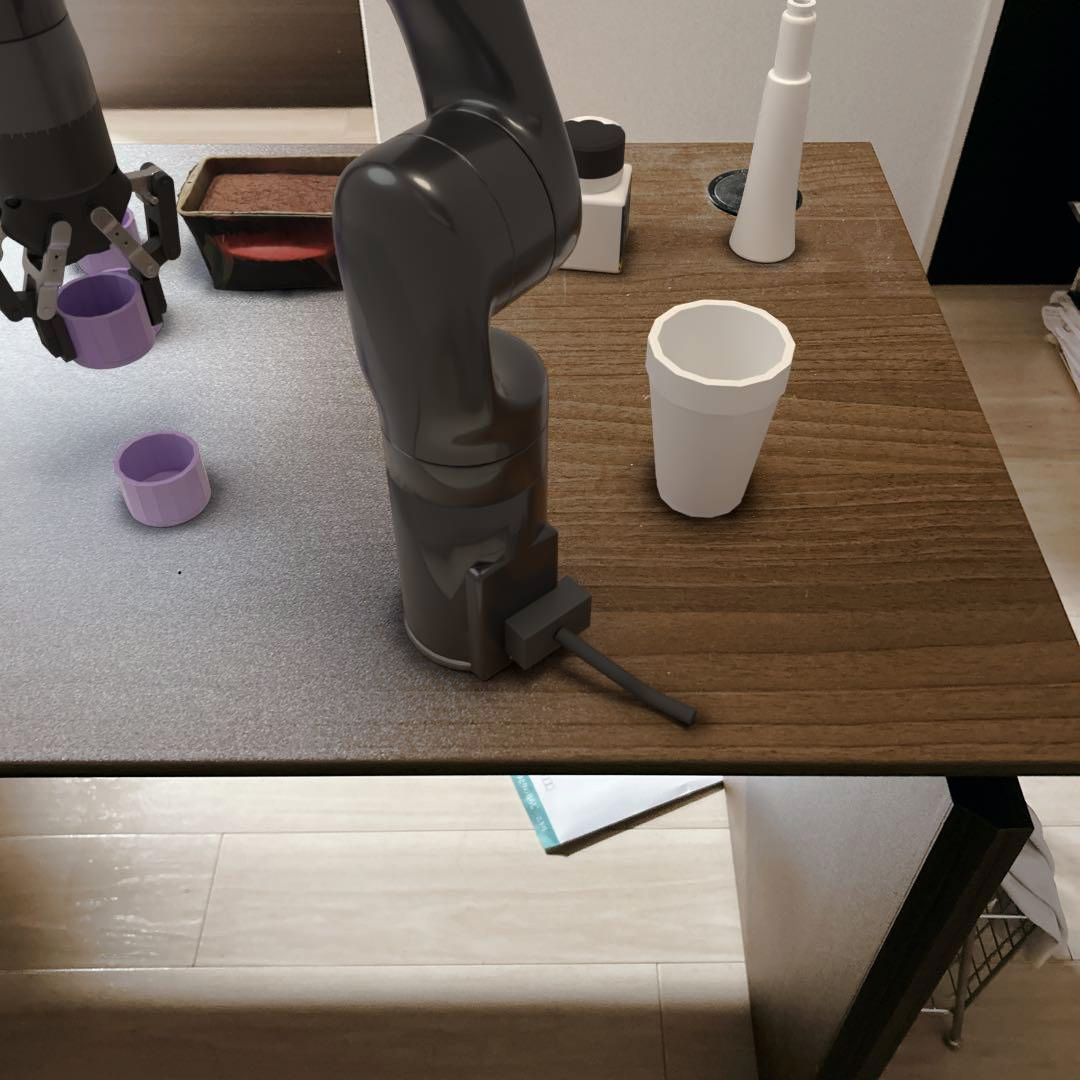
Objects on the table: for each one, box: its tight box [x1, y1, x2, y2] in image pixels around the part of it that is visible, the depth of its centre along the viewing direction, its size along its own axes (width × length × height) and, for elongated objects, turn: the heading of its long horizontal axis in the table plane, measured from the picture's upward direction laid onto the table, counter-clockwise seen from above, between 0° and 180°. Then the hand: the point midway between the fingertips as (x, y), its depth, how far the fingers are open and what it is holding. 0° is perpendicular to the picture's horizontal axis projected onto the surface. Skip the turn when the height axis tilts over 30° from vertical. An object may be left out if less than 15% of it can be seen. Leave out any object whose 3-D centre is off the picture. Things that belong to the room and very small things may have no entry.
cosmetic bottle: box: [728, 0, 818, 264], centre depth 97 cm, size 6×6×22 cm
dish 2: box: [112, 429, 212, 528], centre depth 80 cm, size 6×6×4 cm
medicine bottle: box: [559, 115, 633, 274], centre depth 100 cm, size 7×7×12 cm
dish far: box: [77, 206, 143, 275], centre depth 102 cm, size 6×6×4 cm
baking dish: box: [176, 153, 363, 291], centre depth 101 cm, size 14×18×10 cm
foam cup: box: [644, 299, 796, 519], centre depth 78 cm, size 10×9×13 cm
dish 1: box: [56, 272, 156, 371], centre depth 77 cm, size 6×6×4 cm
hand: (110, 336), depth 78 cm, fingers closed on dish 1, 6 cm apart
